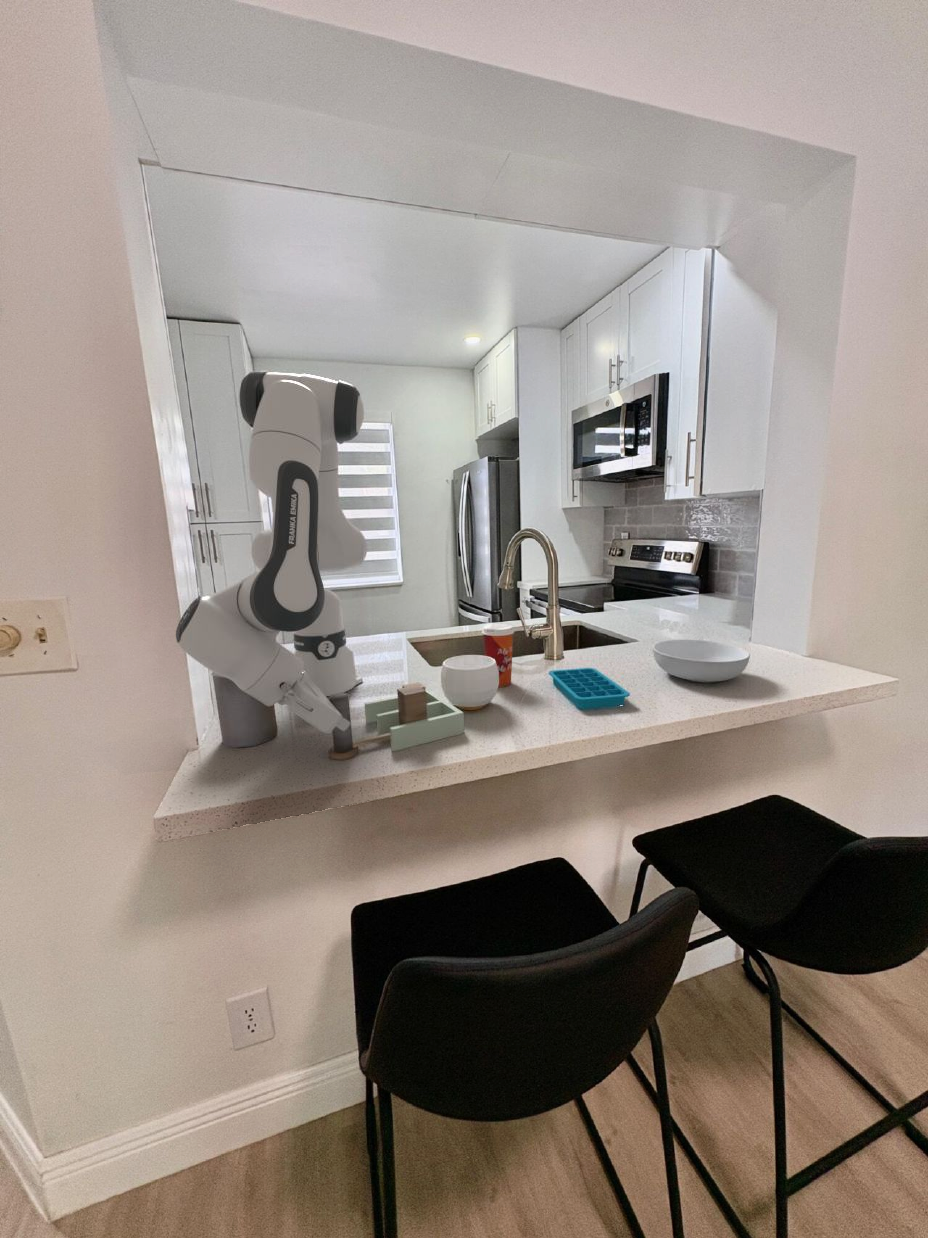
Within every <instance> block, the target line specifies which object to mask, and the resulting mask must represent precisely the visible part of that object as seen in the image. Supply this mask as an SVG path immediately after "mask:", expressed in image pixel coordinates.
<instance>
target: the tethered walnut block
mask: <svg viewBox="0 0 928 1238" xmlns="http://www.w3.org/2000/svg"><path fill="white" fill-rule="evenodd" d="M396 691H397V696H398V710H399V725H403V724H408V723H412V722H416V721H420V720H425V719H427V703H426V691H425V690H424V689H422V688H421V687H420V686H418V685H415V686H410V687H405V688H402V687H400V688H397V689H396ZM349 695H350V694H349V693H347V692H343V693H336V694H333V695H331V696H328V700H329V701H330V702H331V703H332V704H333V706H334V707H335V708H336V709H337V710H338V711H339V713H340V714H341V715H342V716H343V717H344V718H346V719H347V720H348V721H349V722H350V725H349V727H348V728H347V729H346V730H345V731H342V730H341V729H339V728H337V727H335V728H334V729H333V730H332V732H331V733H332V743H333V746H331V747H330V748H329V749H328V757H329V758H330V759H331V760H335V761H344V760H349V759H352V758H355V757H356V756H357V755H358V754H359V753H360V751H359V747H362V746H367V745H371V744H376V743H379V742H384V741H388V740H391V738H390V733H387V734H383V735H379V736H378V735H375V736H371V737H368V738H362V739H357V740H353V732H352V721H351V720H352V719H351V707H350V696H349Z"/></svg>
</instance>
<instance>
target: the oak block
mask: <svg viewBox="0 0 928 1238" xmlns="http://www.w3.org/2000/svg"><path fill="white" fill-rule="evenodd" d="M415 685H418V686H420V687H421V688H422V689H424V690H425V691H426V690H427V689H426V686H425V685H424V684H422V683H420V682H419V681H417V682H411V683H406V684H402V685H401V686H402V687H401V688H405V687H410V686H415Z"/></svg>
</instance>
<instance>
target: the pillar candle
mask: <svg viewBox="0 0 928 1238" xmlns="http://www.w3.org/2000/svg"><path fill="white" fill-rule="evenodd" d="M211 676H212V680H213V687H214V692H215V693H214V694H215V699H216V701H215V702H216V706H217V714H218V715H217V716H218V720H219V727H220V734H221V740H222V744H223V746H225V747H228V748H233V749H237V748H243V747H244V748H248V747H255V746H257V745H261V744H264V743H267V742H268V741H270V740H272V739H273V738H274V737H276V735H277V734H278V723H277V716H276V709H275V704H274V705H272V706H266V705H265V704H263V703H261V702H260V701H258V700H257V699H255V698H253V697H252V696H250V695H249V694H247V693H246V692H244V691H243V690H241V689H240V688H239V687H238V686H237V685H236V684H235V683H234V682H233V681H232V680H230V679H228V678H226V677H223V676H219V675H217V674H215V673H214V672H212V673H211Z"/></svg>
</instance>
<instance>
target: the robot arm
mask: <svg viewBox="0 0 928 1238" xmlns="http://www.w3.org/2000/svg"><path fill="white" fill-rule="evenodd" d="M238 402H239V407H240V412H241V415H242V418H243V420H244V421H245V422H246V424H247V425H249V427H251V428H252V431H251V437H250V445H249V452H248V453H249V455H248V462H249V463H248V465H249V477H250V480H251V481H252V483H253V485H254V486H255V488H257V489H258V490H259V492H261V493H262V494H263V495H265V496H267V497H269V498H270V499H271V501H272V506H273V507H272V508H273V509H272V522H271V523H272V525H271V528H268V529H264V530H260V531H259V532H258V533H257V534H256V535H255V537H254V538H253V540H252V544H251V547H250V548H251V549H250V550H251V551H250V553H251V557H252V560H253V563H254V565H255V566H256V567H257V568H258V570H259V571H258V572H257V571H256V572H254V573H253V574H250V575H248V576H247V577H245V578H243V579H241V580H239V581H238V582H236V583H234V584H232V585H230V586H228V587H226V588H224V589H221V590H219V591H216V592H213V593H211V594H207V595H200V596H198V597H196V598H195V599H194V600H193V601H192V602H191V603H190V604H189V606H188V608H187V609H186V610H185V612H184V613H183V615H182V617H181V618H180V620H179V622H178V624H177V627H176V629H175V639H176V643H177V644H178V646H179V647H180V648H181V649H182V650H183V651H184V652H185V653H186V654H187V655H189V656H190V657H191V658H192V659H193V660H195V661H196V662H198V663H199V664H200V665H202V666H203V667H204V668H206V669H208V670H209V671H210V672H212V673H213V672H214V673H215V674H217V675H219V676H223V677H226V678H228V679H230V680H232V681H233V682H234V683H235V684H236V685H237V686H238V687H239V688H240V689H241V690H243V691H244V692H246V693H247V694H249V695H250V696H252V697H253V698H255V699H257V700H258V701H260V702H261V703H263V704H265V705H266V706H272V705H274V706H275V704H279V705H280V706H284V705H286V706H287V708H288V709H289V710H291V711H292V712H293V713H294V714H295V715H297V716H298V717H299V718H300V719H303V721H304V722H306V723H308V724H310V726H312V727H314V728H315V729H317V730H318V731H319V732H321V733H323V734H326V735H329V734H331V733H332V730H333V729H334V728H335V727H337V728H339V729H341V730H342V731H345V730H346V729H347V728H348V727H349V725H350V722H349V721H348V720H347V719H346V718H344V717H343V716H342V715H341V714H340V713H339V711H338V710H337V709H336V708H335V707H334V706H333V704H332V703H331V702H330V701H329V698H328V697H329V696H331V695H333V694H336V693H347V692H348V691H350V690H352V689H353V688H354V687H355V686H356V685H358V684H360V683H362V682H363V677H362V676H360V675H358V674H356V673H357V672H356V665H355V658H354V651H353V650H352V649H351V648H349V647H348V646H347V634H346V629H345V628H344V623H343V611H342V602H341V599H340V597H339V596H338V595H337V594H336V593H335V592H334V591H332V590H329V589H328V588H325V586H324V582H323V580H322V576H321V574H323V573H334V572H335V573H337V572H344V571H348V570H351V569H354V568H358V567H360V566H361V565H362V564H363V563H364V561H365V560H366V557H367V552H368V545H367V540H366V538H365V536H364V534H363V532H361V531H360V529H359V528H358V527H356V526H355V525H354V524H352V522H350V521H349V519H347V517H346V515H345V513H344V512H343V510H342V506H341V504H340V496H339V495H340V494H339V448H338V444H339V445H342V444H344V442H349V441H352V440H353V439H355V438H356V437H357V436H358V435H359V431H360V429H361V428H362V425H363V424H364V422H363V421H364V417H365V416H364V415H365V411H364V403H363V401H362V398H361V393H360V392H359V390H358V389H357V387H356V386H355V385H353V384H350V383H348V382H346V381H342V380H338V381H335V380H332V379H329V378H324V377H321V376H316V375H311V374H306V373H302V374H299V373H288V372H287V373H286V372H269V371H268V370H255V371H250V372H249V373H248V374H246V375H245V376H244V377H243V378H242V380H241V382H240V388H239V393H238ZM280 632H288V633H291V632H292V633H293V632H294V634H293V638H292V639H293V648H294V652H291V651H290V650H289V649H287V648H286V647H284V646H283V645H282V644H280V643H279V642H278V641H277V640H276V639H277V636H278V635H279V634H280Z"/></svg>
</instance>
